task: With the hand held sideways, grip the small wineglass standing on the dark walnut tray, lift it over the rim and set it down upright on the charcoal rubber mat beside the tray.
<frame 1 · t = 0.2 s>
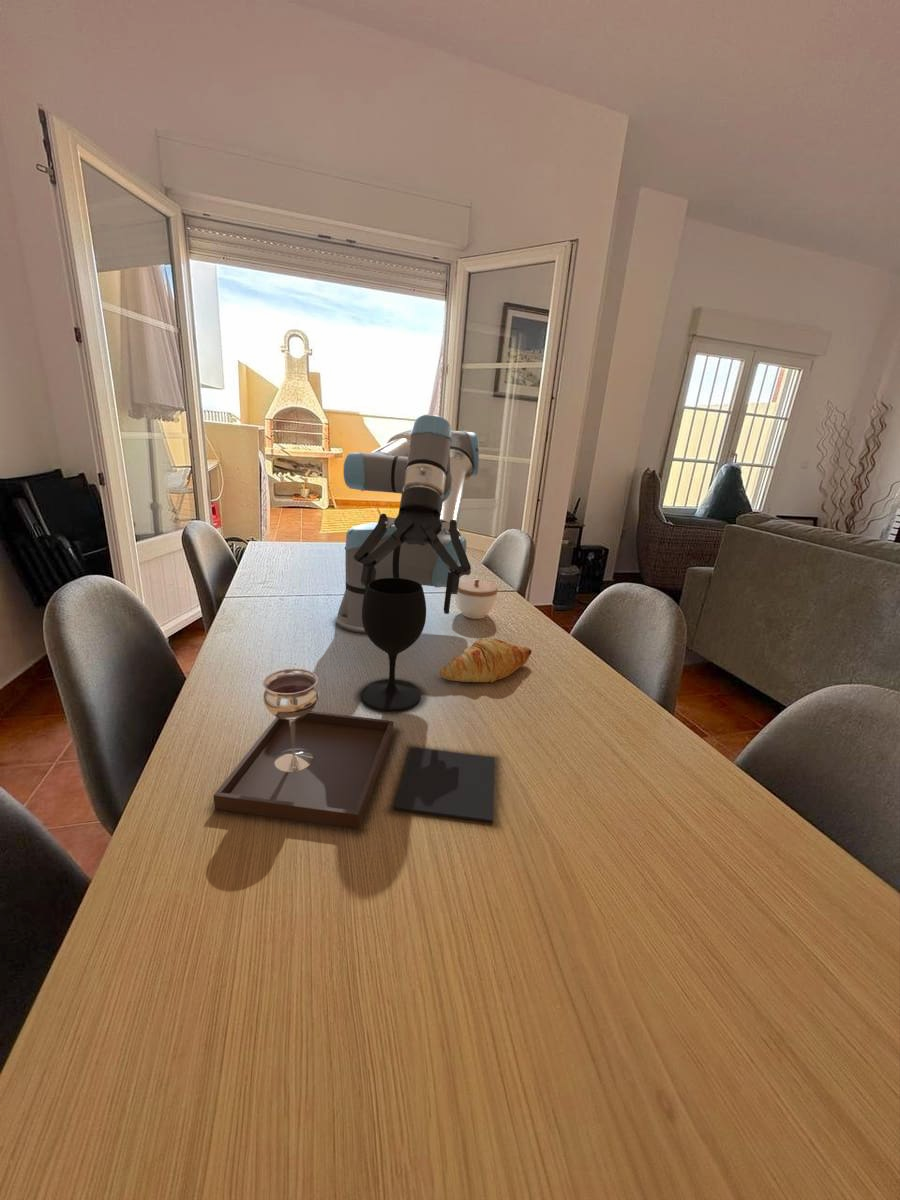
hand: (406, 607, 81), 15 cm above the table, tool tilted 35°, fingers open, 13 cm apart
trinket box: (473, 615, 124), on the table
croissant: (485, 672, 95), on the table
tray: (315, 765, 65), on the table
wineglass: (294, 760, 65), resting on tray
wine glass: (391, 696, 83), on the table
mat: (448, 782, 64), on the table
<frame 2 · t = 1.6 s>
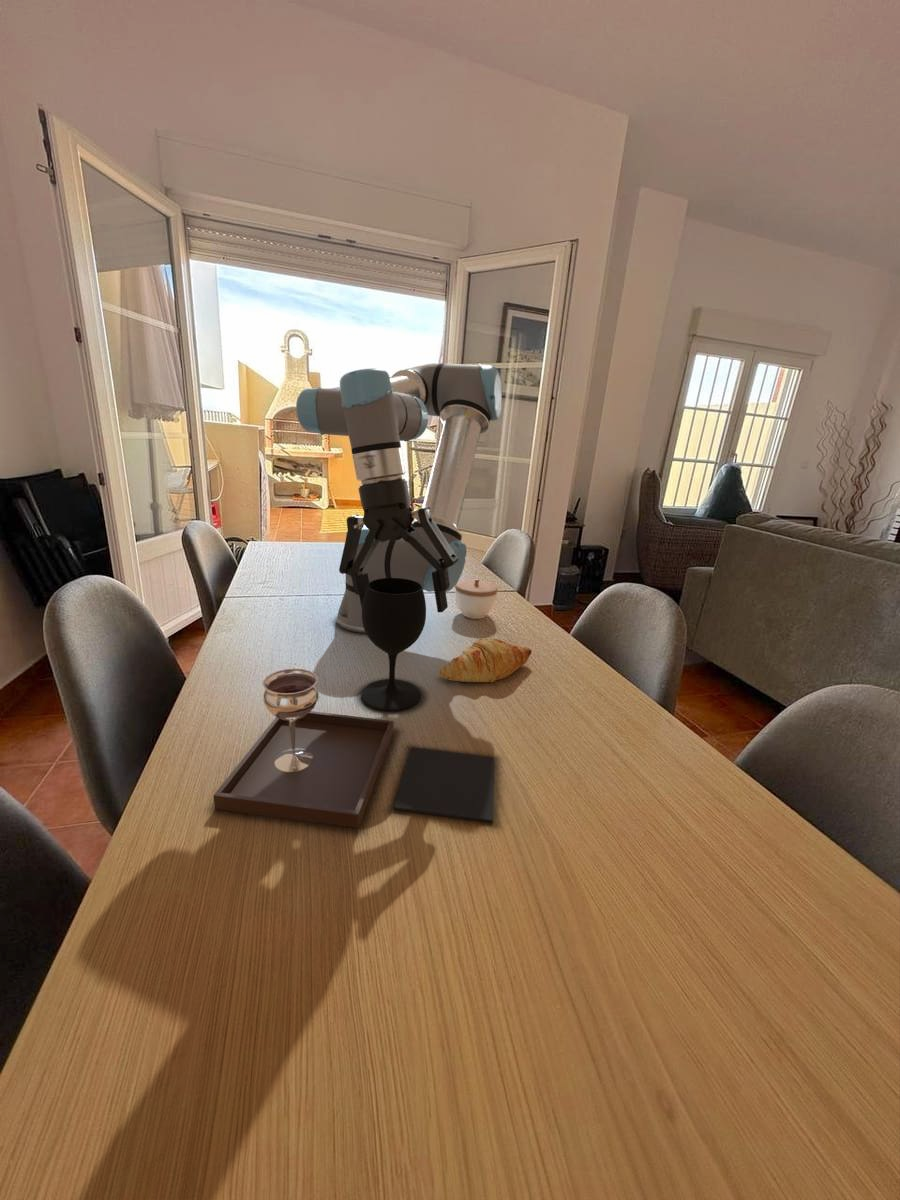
hand: (404, 611, 80), 15 cm above the table, tool pointing down, fingers open, 13 cm apart
nothing on the table moved.
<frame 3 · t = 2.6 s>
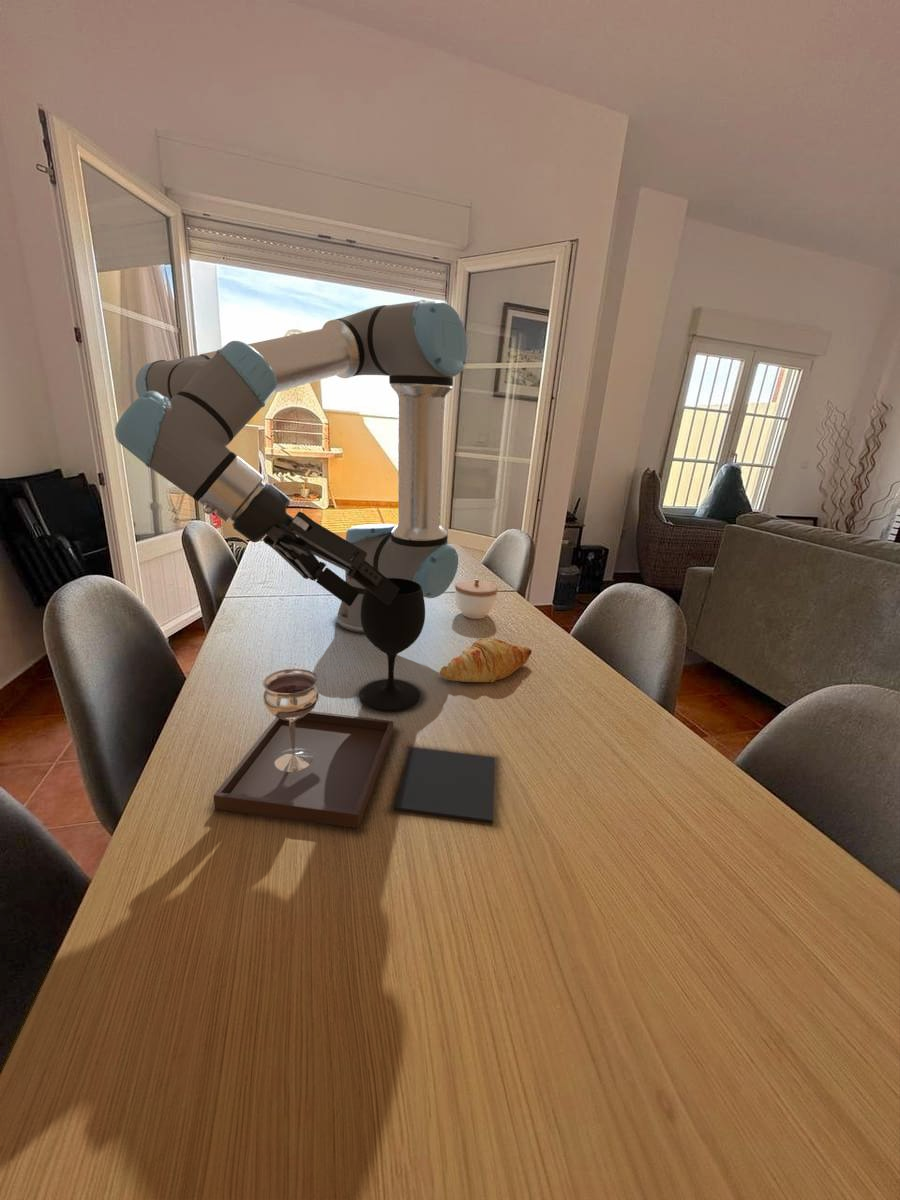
hand: (372, 598, 71), 20 cm above the table, tool tilted 50°, fingers open, 13 cm apart
nothing on the table moved.
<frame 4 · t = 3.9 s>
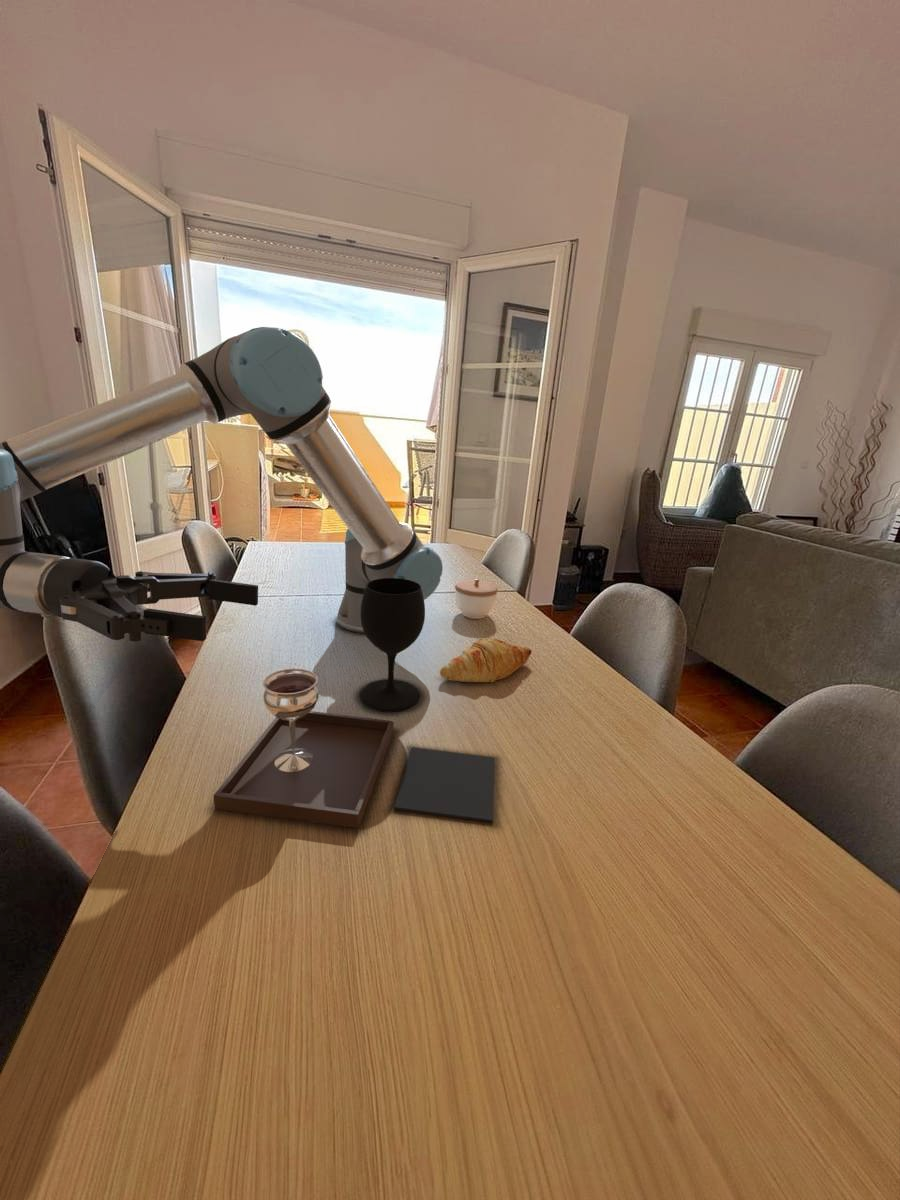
hand: (233, 610, 60), 21 cm above the table, tool horizontal, fingers open, 13 cm apart
nothing on the table moved.
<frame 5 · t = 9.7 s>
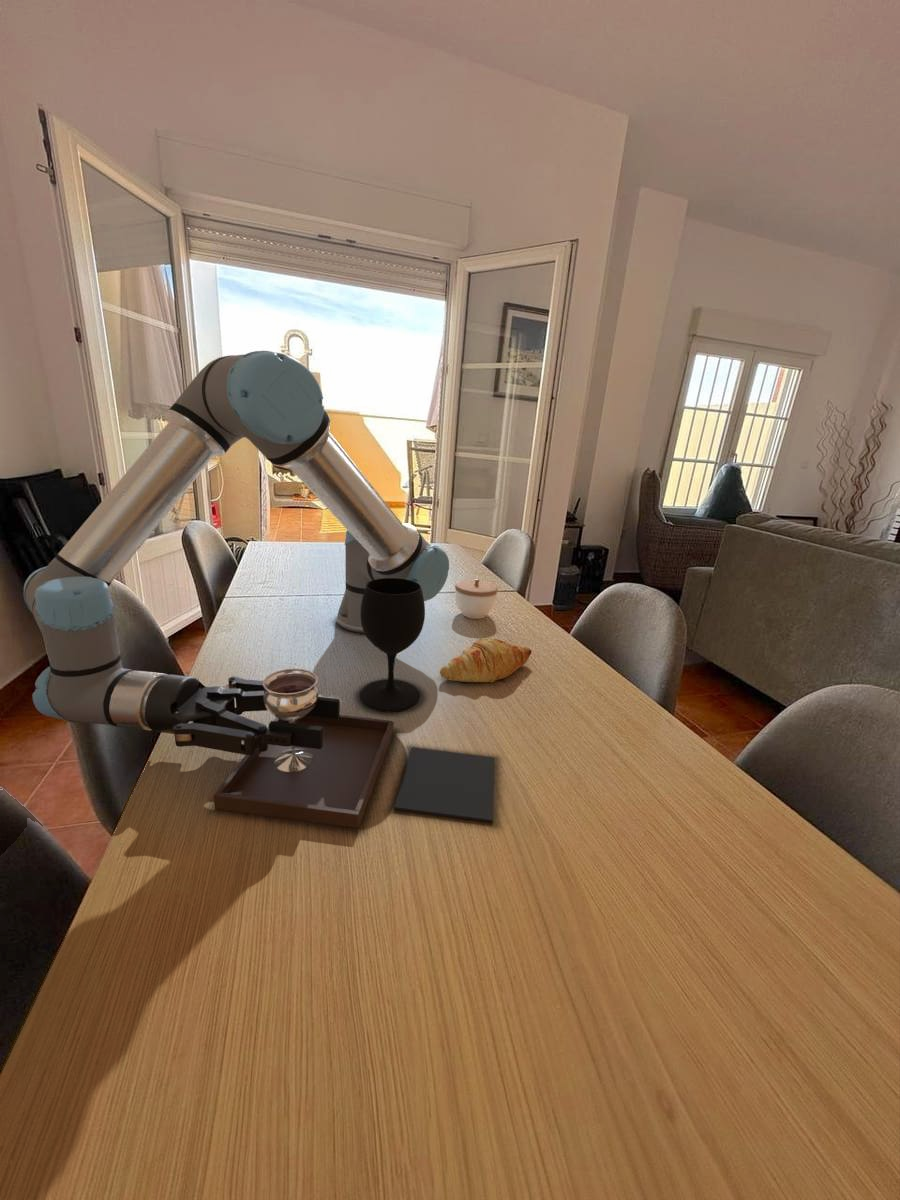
hand: (330, 722, 62), 7 cm above the table, tool horizontal, fingers closed on wineglass, 6 cm apart
wineglass: (294, 760, 65), resting on tray, touching gripper
everything else where it was.
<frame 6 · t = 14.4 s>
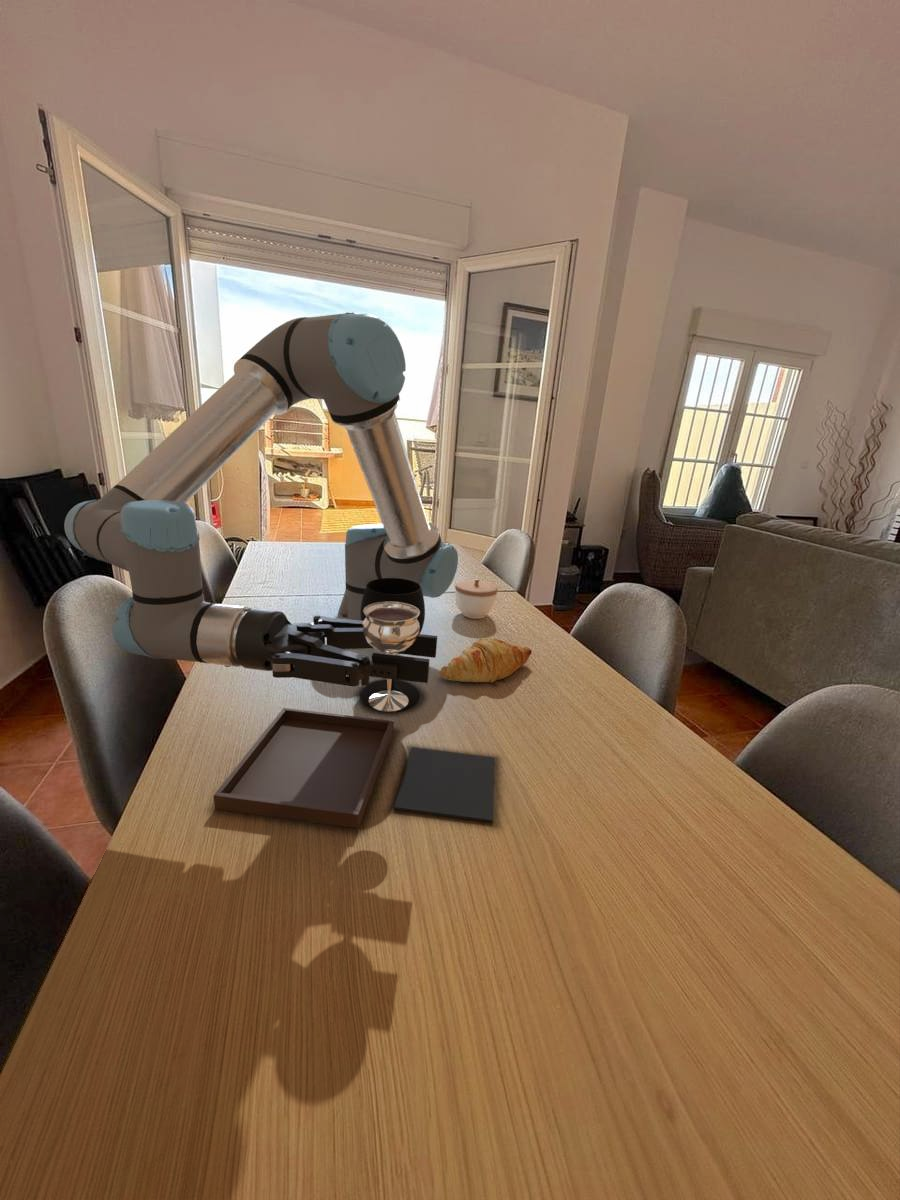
hand: (432, 658, 58), 18 cm above the table, tool horizontal, fingers closed on wineglass, 6 cm apart
wineglass: (388, 701, 60), point 11 cm above the table, touching gripper
everything else where it was.
when the fingers open (7 cm above the table, at t = 19.0 s): wineglass stays where it is, resting on mat.
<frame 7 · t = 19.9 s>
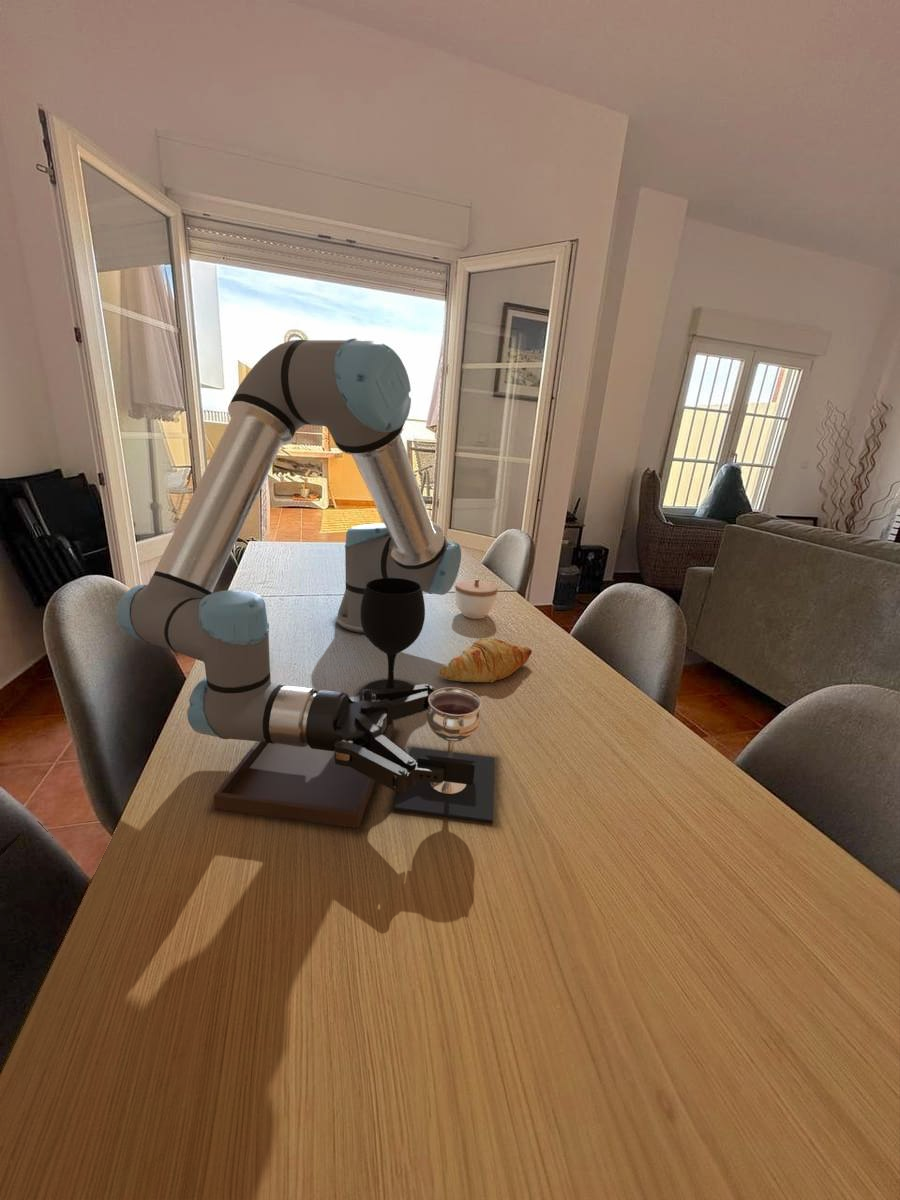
hand: (477, 737, 61), 7 cm above the table, tool horizontal, fingers open, 13 cm apart
wineglass: (447, 781, 64), resting on mat
everything else where it was.
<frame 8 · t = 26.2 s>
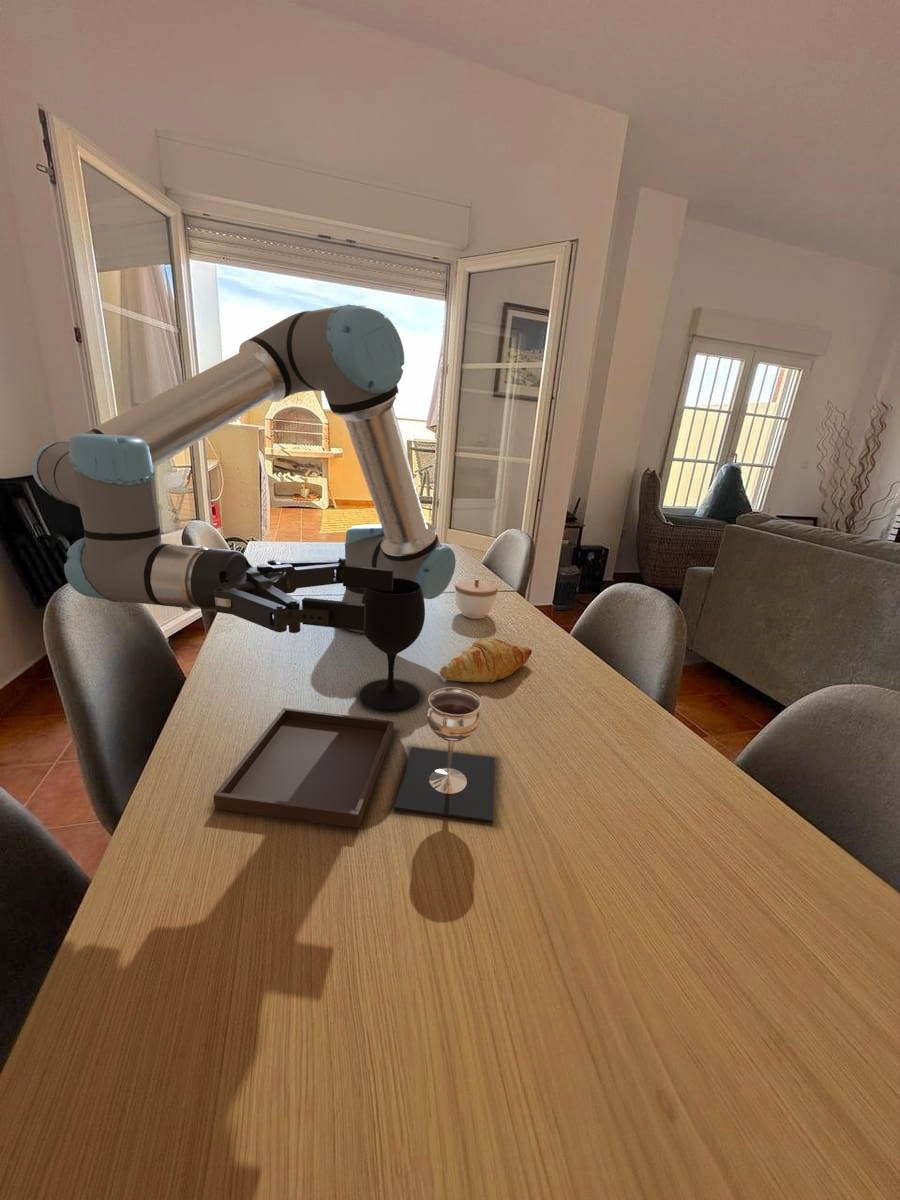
hand: (380, 596, 56), 25 cm above the table, tool horizontal, fingers open, 13 cm apart
nothing on the table moved.
at the end: wineglass inside the target area on the mat (0.1 cm from its centre), point 0.2 cm above the mat's base; wineglass tilted 0°; wineglass touching mat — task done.
